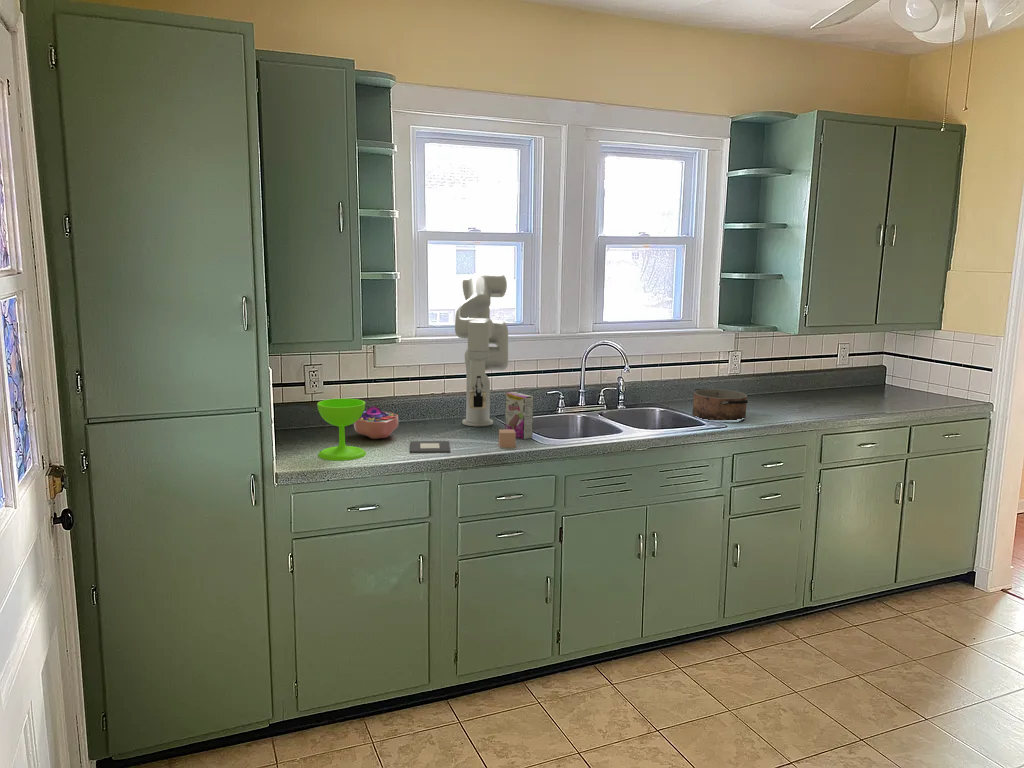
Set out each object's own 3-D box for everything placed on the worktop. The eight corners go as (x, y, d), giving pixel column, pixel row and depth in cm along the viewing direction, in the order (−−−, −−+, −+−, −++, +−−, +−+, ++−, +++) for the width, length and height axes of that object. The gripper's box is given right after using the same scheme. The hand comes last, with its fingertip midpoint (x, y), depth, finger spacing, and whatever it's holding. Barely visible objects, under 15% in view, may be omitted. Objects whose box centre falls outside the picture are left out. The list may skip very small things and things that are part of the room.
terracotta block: (498, 444, 285) (498, 429, 284) (513, 443, 286) (513, 429, 285) (500, 447, 280) (500, 433, 279) (515, 447, 280) (515, 432, 279)
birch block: (469, 405, 281) (469, 390, 280) (484, 405, 282) (484, 390, 281) (470, 408, 276) (470, 393, 275) (485, 408, 277) (485, 393, 276)
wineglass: (357, 446, 277) (357, 397, 274) (372, 457, 263) (371, 405, 260) (313, 451, 269) (311, 400, 266) (325, 462, 255) (324, 409, 252)
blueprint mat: (410, 442, 283) (410, 441, 283) (448, 442, 285) (448, 440, 285) (409, 452, 270) (409, 450, 270) (450, 452, 271) (450, 450, 271)
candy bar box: (503, 434, 300) (504, 392, 297) (513, 432, 303) (514, 391, 300) (523, 440, 291) (524, 397, 288) (533, 438, 295) (534, 395, 292)
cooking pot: (677, 412, 348) (679, 388, 347) (718, 409, 357) (720, 386, 355) (718, 426, 321) (720, 401, 319) (762, 423, 329) (764, 398, 327)
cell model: (355, 445, 279) (354, 414, 277) (350, 432, 298) (350, 403, 296) (402, 442, 284) (401, 412, 282) (394, 430, 302) (394, 401, 300)
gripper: (466, 351, 284) (465, 400, 287) (469, 358, 267) (468, 410, 270) (486, 352, 284) (485, 400, 288) (490, 359, 268) (489, 410, 271)
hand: (477, 404), depth 279 cm, fingers closed on birch block, 5 cm apart
